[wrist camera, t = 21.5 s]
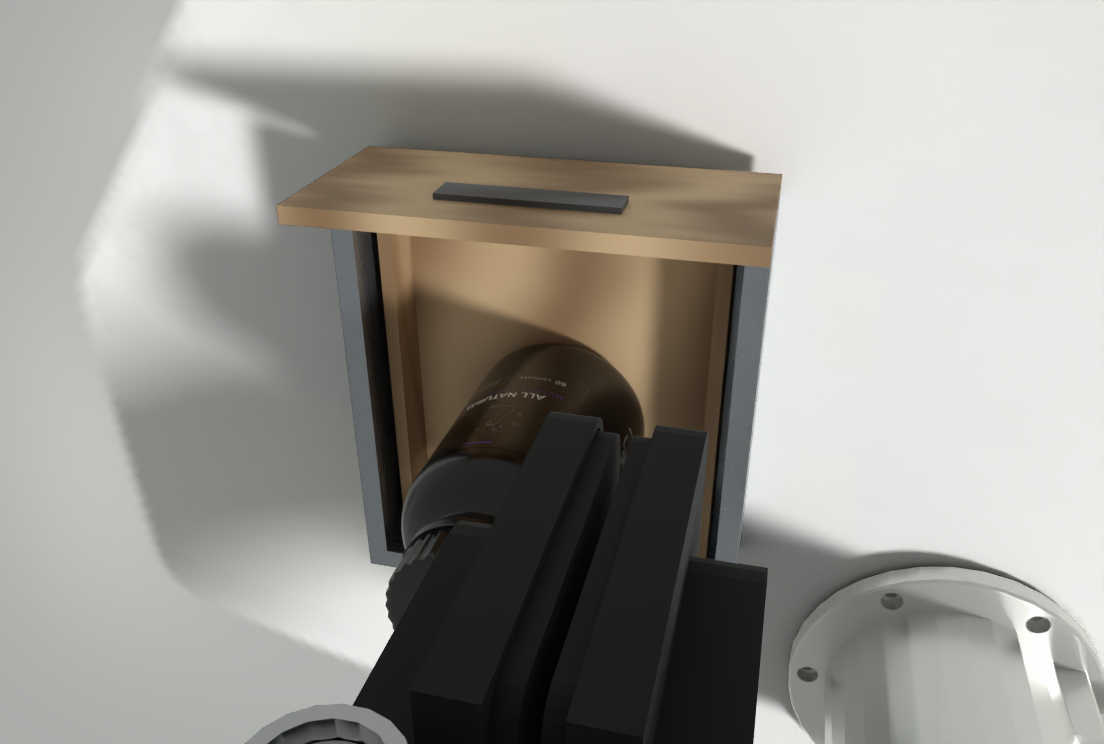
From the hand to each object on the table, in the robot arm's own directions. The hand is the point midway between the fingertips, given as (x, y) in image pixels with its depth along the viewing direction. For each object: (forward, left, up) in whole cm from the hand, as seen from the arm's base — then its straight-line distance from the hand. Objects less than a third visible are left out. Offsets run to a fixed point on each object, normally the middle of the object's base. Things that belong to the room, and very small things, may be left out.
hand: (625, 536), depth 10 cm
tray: (+7, +11, -24) cm, 27 cm away
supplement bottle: (+6, +13, -24) cm, 28 cm away
